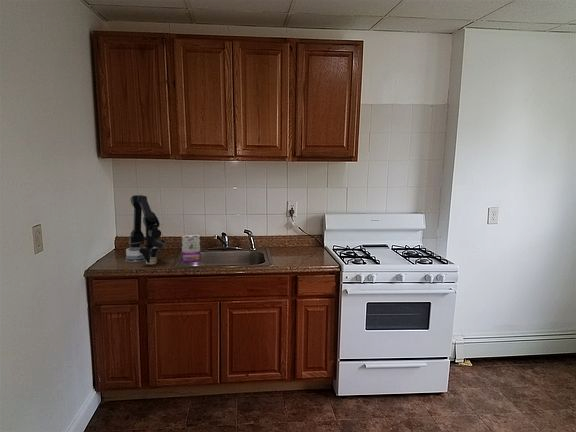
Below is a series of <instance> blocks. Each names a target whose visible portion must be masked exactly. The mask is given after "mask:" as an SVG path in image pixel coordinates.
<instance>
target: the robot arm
mask: <svg viewBox="0 0 576 432" xmlns="http://www.w3.org/2000/svg"><path fill="white" fill-rule="evenodd" d="M130 203H131V206H132V207H133V229H132V230H131V232H130V236H129V239H128V245H130V246H131V248H133V247H142V248H140V249H139V253H141V254H142V255H143V256H144V258H145V260H146V261H147V263H149V262H150V257H155V258H157V254H158V251H160V250H163V249H165V246H166V245H167V242H166V239H165V238H164V239H161V240H159V238H161V236H162V232H161V230H160V229H159V227H160V225H161V224H160V222H159V219H158V216H157V215H156V213H155V212H154V211H152V209H151V206H150V205H149V202H148V197H147V195H144V194H138V195H137V194H135V195H134V194H133V195H132V196H131V197H130ZM142 214H143V217H142ZM142 222H143V225H144V227H145V235H144V233H143V231H142ZM142 245H144V246H142ZM146 261H145V262H146Z"/></svg>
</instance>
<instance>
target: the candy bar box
mask: <svg viewBox="0 0 576 432" xmlns="http://www.w3.org/2000/svg"><path fill="white" fill-rule="evenodd" d="M201 261H202V260H201V235H200V234H190V235H189V234H186V235H181V262H182V264H183V263H184V264H185V263H186V264H187V263H201Z"/></svg>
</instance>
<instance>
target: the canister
mask: <svg viewBox="0 0 576 432" xmlns="http://www.w3.org/2000/svg"><path fill="white" fill-rule="evenodd" d="M142 247H143V246H141V247H133V248H132V247H128V248H126V249H125V254H126V255H125V257H126V258H125V262H126V263H131V264H132V263H133V264H134V263H142V262H146V260H145V258H144V256H143V255H142V254H141V253H139V249H140V248H142Z"/></svg>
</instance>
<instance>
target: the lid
mask: <svg viewBox="0 0 576 432" xmlns="http://www.w3.org/2000/svg"><path fill="white" fill-rule="evenodd" d="M157 261H158V260H157V257H156V258H155V257H152V256H150V262H149V263H147V261H145V264H146V265H156V264H157V263H158V262H157Z"/></svg>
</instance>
